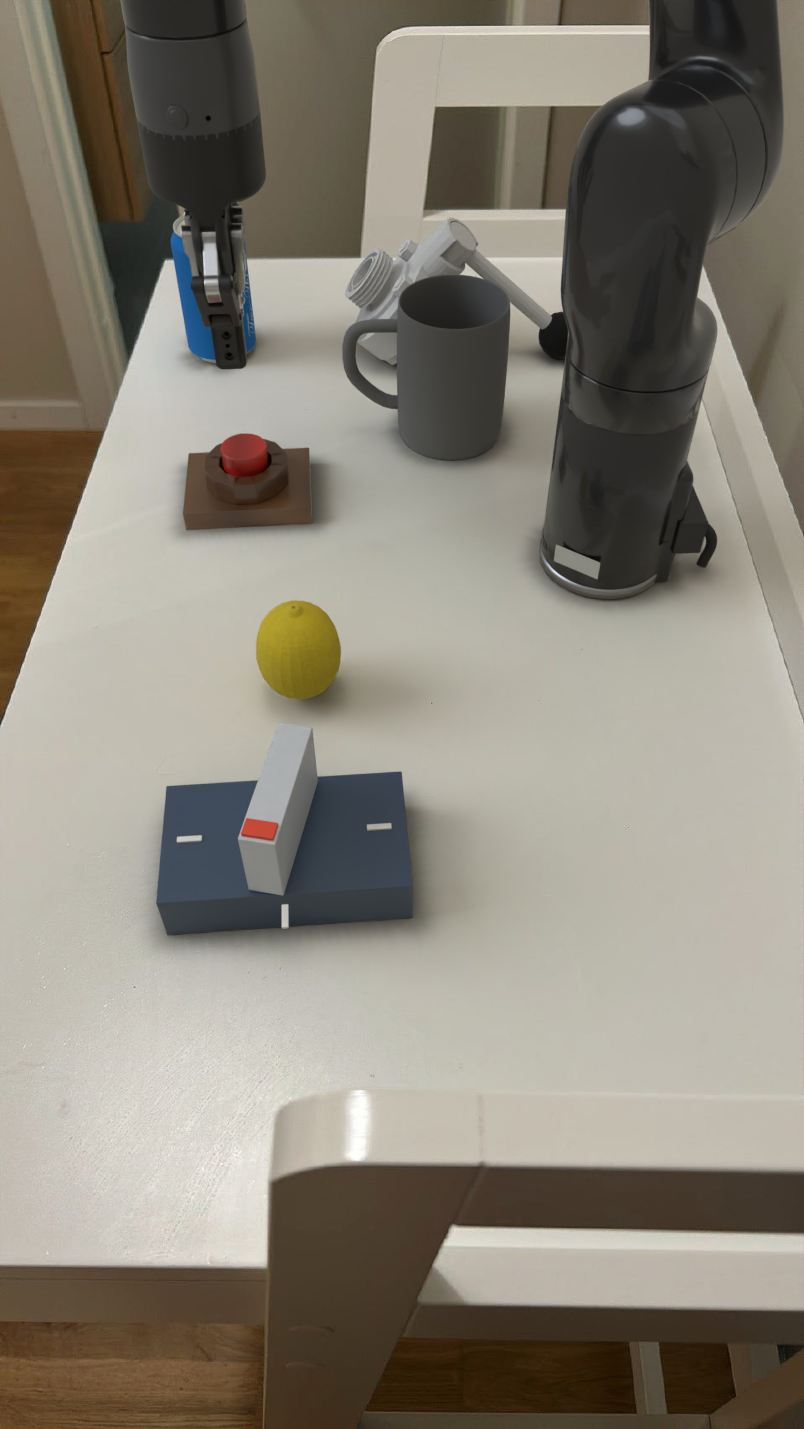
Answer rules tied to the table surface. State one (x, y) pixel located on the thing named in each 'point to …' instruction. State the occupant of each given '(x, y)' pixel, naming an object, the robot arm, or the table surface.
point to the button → (244, 455)
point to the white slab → (279, 809)
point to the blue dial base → (327, 867)
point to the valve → (438, 255)
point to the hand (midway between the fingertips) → (232, 363)
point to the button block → (248, 491)
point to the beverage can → (194, 327)
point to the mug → (444, 364)
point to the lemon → (298, 649)
